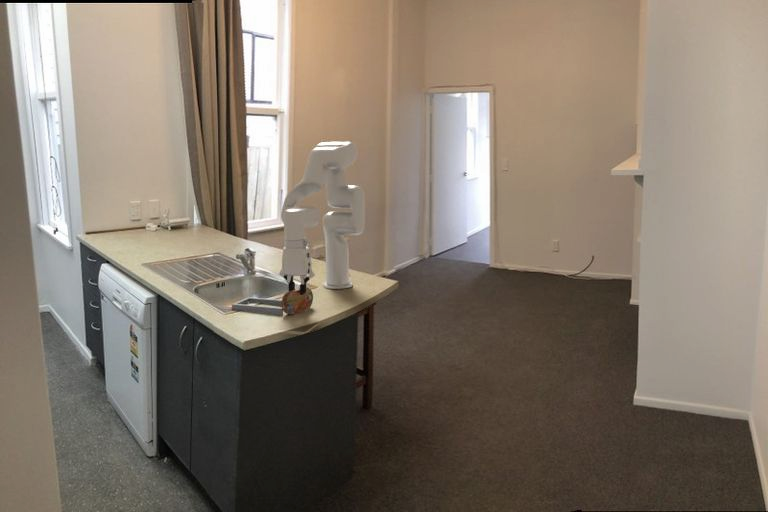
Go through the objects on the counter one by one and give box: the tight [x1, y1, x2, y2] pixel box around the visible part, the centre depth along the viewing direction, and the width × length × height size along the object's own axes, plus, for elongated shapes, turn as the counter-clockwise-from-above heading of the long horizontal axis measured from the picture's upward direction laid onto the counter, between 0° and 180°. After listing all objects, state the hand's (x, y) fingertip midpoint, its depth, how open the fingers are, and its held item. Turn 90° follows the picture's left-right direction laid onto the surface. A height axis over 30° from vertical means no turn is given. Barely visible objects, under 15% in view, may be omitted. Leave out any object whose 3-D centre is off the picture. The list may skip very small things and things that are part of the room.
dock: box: [231, 296, 284, 316], centre depth 216 cm, size 11×20×2 cm, turn 72°
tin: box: [281, 287, 314, 316], centre depth 212 cm, size 15×3×8 cm, turn 148°
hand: (297, 293), depth 212 cm, fingers open, 3 cm apart
